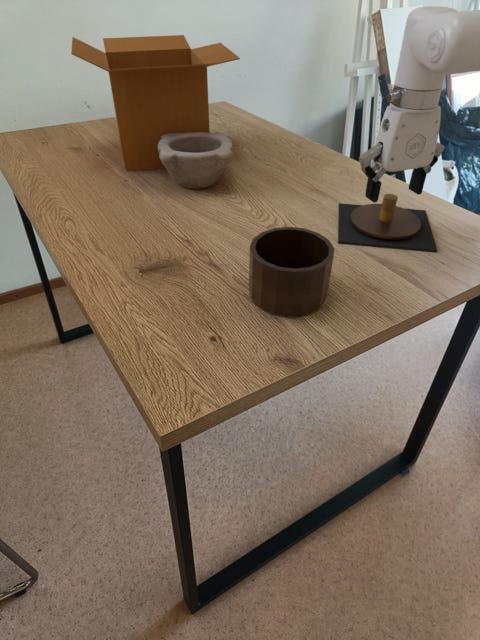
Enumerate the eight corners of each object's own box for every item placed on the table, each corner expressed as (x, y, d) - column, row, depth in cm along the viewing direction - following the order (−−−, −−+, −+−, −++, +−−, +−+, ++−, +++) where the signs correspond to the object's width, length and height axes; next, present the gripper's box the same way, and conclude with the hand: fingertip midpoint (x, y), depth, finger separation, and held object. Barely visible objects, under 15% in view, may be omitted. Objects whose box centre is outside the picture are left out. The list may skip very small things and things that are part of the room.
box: (214, 123, 139) (211, 24, 122) (250, 174, 110) (252, 54, 93) (93, 133, 131) (72, 29, 115) (97, 190, 103) (70, 63, 86)
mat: (424, 212, 95) (425, 210, 95) (436, 252, 83) (437, 250, 83) (338, 205, 98) (339, 203, 97) (338, 243, 86) (338, 241, 85)
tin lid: (400, 206, 96) (407, 179, 92) (432, 238, 86) (441, 210, 82) (340, 211, 94) (344, 184, 90) (365, 245, 84) (371, 216, 80)
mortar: (231, 166, 114) (231, 128, 108) (234, 195, 101) (234, 154, 95) (164, 167, 113) (160, 129, 107) (158, 197, 100) (153, 156, 94)
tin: (313, 267, 79) (319, 224, 74) (337, 312, 70) (346, 266, 65) (243, 274, 78) (243, 230, 72) (258, 321, 68) (260, 275, 63)
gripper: (383, 108, 70) (364, 211, 81) (473, 98, 74) (443, 196, 85) (357, 97, 75) (343, 194, 86) (442, 88, 80) (418, 181, 91)
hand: (393, 195), depth 86 cm, fingers open, 9 cm apart
